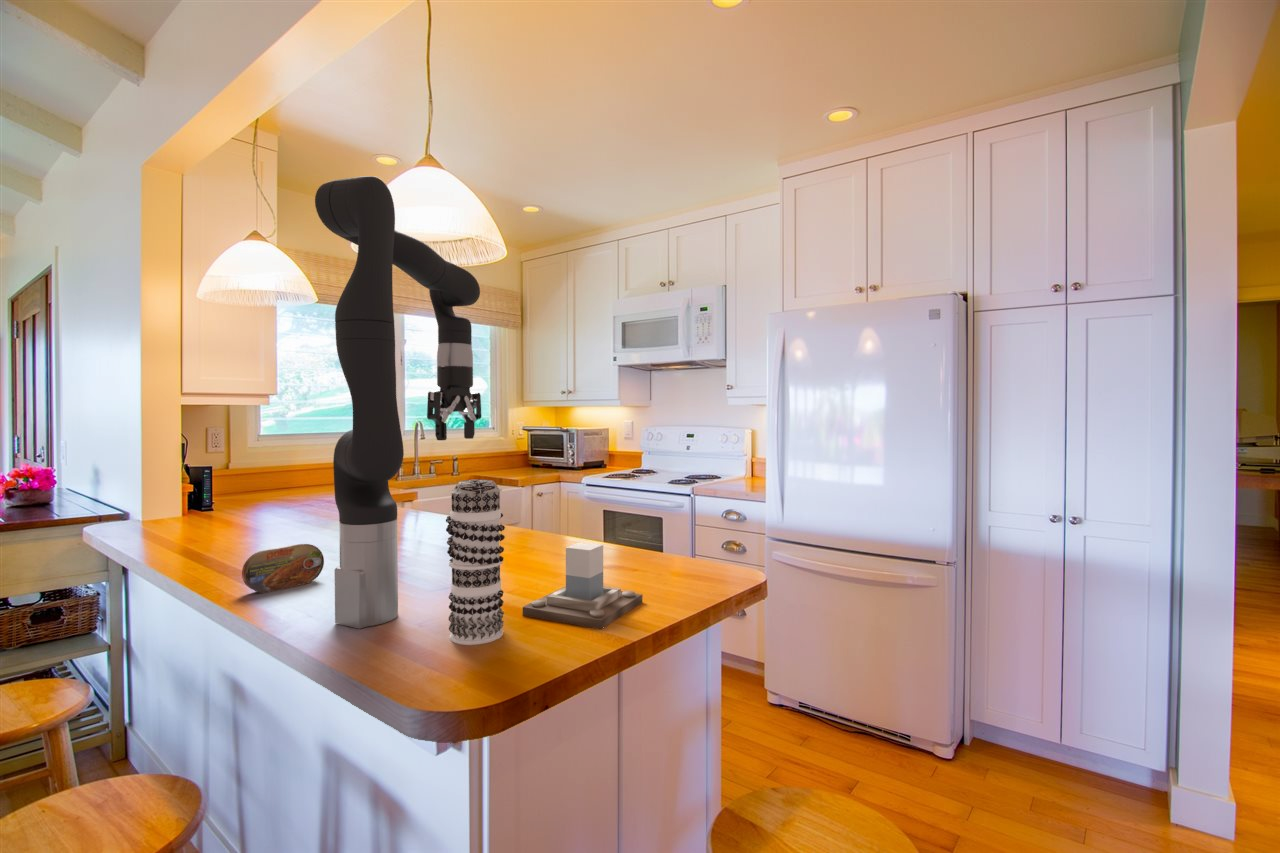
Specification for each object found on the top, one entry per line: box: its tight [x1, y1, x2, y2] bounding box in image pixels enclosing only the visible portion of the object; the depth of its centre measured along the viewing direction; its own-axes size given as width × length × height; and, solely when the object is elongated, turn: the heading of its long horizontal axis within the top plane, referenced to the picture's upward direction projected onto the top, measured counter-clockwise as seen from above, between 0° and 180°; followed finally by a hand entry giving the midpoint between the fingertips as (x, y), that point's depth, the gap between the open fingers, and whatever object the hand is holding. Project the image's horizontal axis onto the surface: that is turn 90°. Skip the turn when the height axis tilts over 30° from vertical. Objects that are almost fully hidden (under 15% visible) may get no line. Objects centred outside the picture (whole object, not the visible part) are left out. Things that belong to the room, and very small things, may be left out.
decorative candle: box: [445, 479, 506, 646], centre depth 97 cm, size 9×9×25 cm
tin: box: [241, 543, 325, 594], centre depth 125 cm, size 15×3×8 cm, turn 143°
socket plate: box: [522, 585, 643, 630], centre depth 111 cm, size 16×16×3 cm
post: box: [565, 541, 604, 601], centre depth 111 cm, size 5×5×10 cm
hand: (455, 439), depth 133 cm, fingers open, 8 cm apart
